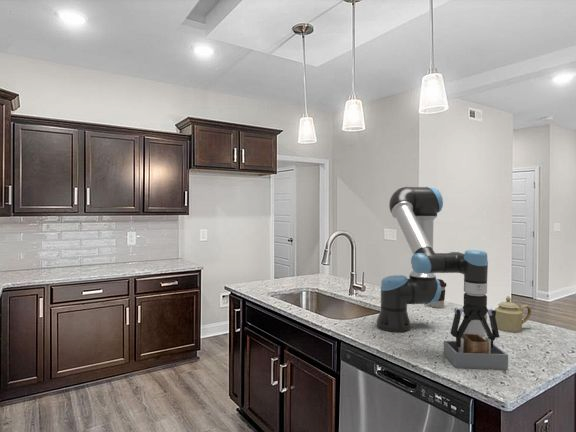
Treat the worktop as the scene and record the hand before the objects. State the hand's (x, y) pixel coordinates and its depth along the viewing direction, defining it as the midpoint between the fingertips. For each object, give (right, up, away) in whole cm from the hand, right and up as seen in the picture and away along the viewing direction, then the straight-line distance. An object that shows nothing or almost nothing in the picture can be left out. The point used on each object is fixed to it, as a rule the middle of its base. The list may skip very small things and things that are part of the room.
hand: (474, 356), depth 138 cm
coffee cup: (+16, 0, +76) cm, 78 cm away
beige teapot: (+36, -1, +39) cm, 53 cm away
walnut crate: (0, -1, 0) cm, 1 cm away
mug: (+16, -2, +31) cm, 35 cm away
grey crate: (0, -2, 0) cm, 2 cm away
